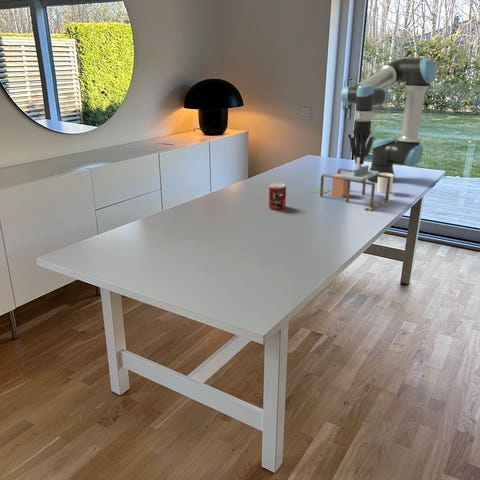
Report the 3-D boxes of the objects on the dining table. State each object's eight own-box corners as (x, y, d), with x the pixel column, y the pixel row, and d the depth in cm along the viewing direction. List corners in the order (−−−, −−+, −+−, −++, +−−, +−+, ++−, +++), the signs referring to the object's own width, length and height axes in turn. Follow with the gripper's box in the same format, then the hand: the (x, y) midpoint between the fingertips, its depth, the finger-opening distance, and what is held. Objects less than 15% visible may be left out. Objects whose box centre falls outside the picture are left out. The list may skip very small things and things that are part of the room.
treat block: (338, 192, 239) (339, 173, 236) (348, 194, 236) (350, 175, 232) (331, 195, 235) (333, 175, 231) (342, 197, 231) (343, 177, 228)
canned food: (266, 208, 220) (266, 186, 216) (273, 204, 227) (273, 182, 223) (281, 211, 217) (281, 188, 213) (287, 206, 223) (288, 183, 219)
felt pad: (317, 188, 248) (317, 187, 248) (330, 190, 243) (330, 190, 243) (308, 191, 242) (308, 190, 242) (322, 194, 237) (322, 193, 237)
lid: (360, 170, 234) (361, 162, 233) (379, 173, 228) (380, 165, 227) (341, 178, 221) (341, 169, 220) (360, 181, 215) (361, 172, 214)
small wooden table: (322, 187, 253) (323, 164, 248) (389, 201, 229) (392, 176, 225) (301, 196, 239) (302, 171, 234) (370, 211, 216) (372, 184, 211)
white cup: (388, 196, 237) (390, 177, 233) (373, 194, 241) (375, 175, 238) (394, 193, 243) (396, 174, 239) (379, 190, 247) (381, 172, 243)
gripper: (346, 119, 217) (342, 169, 226) (372, 122, 209) (367, 174, 218) (354, 118, 222) (350, 167, 231) (379, 120, 214) (374, 171, 223)
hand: (358, 170), depth 225 cm, fingers closed
